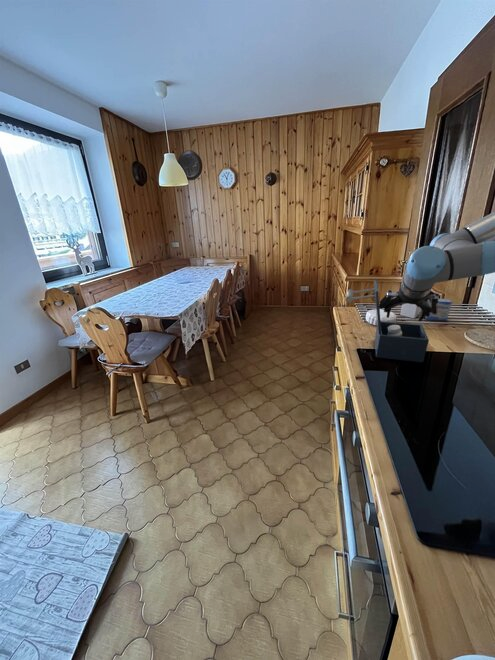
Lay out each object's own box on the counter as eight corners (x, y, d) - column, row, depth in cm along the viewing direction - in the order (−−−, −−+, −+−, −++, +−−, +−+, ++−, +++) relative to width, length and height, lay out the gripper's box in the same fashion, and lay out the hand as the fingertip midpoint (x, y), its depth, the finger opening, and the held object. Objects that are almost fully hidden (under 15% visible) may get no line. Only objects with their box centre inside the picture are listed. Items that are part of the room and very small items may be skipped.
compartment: (416, 345, 105) (422, 324, 101) (422, 362, 95) (428, 340, 91) (374, 341, 110) (377, 320, 106) (376, 357, 100) (379, 335, 96)
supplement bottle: (406, 349, 100) (404, 328, 96) (392, 352, 100) (389, 331, 97) (400, 343, 104) (397, 322, 101) (386, 346, 105) (384, 326, 101)
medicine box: (426, 319, 123) (430, 301, 119) (423, 315, 127) (428, 297, 123) (447, 321, 121) (452, 302, 117) (443, 316, 124) (449, 298, 120)
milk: (419, 314, 128) (431, 266, 118) (414, 318, 125) (425, 269, 114) (405, 310, 132) (415, 264, 122) (399, 315, 129) (409, 267, 118)
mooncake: (376, 328, 119) (377, 321, 117) (360, 317, 129) (361, 310, 127) (401, 324, 120) (403, 316, 119) (383, 313, 131) (385, 306, 129)
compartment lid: (376, 280, 99) (345, 284, 103) (378, 291, 90) (344, 295, 94) (379, 319, 105) (350, 322, 109) (381, 334, 96) (349, 336, 100)
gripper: (463, 277, 76) (441, 309, 96) (375, 273, 85) (371, 302, 104) (461, 303, 74) (439, 330, 94) (371, 295, 83) (368, 321, 103)
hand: (403, 315), depth 99 cm, fingers open, 9 cm apart
